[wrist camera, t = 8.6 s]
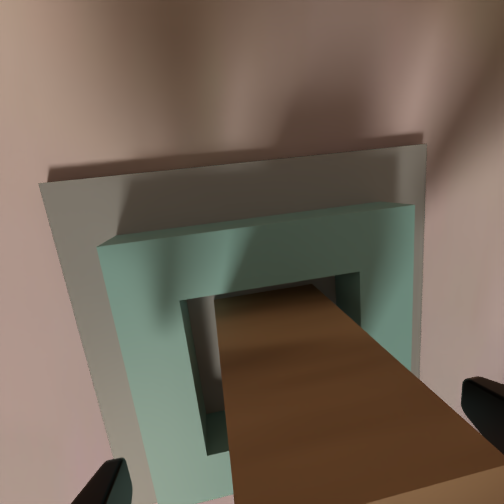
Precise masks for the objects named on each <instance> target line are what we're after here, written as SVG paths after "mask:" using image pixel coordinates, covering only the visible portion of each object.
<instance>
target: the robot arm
mask: <svg viewBox="0 0 504 504" xmlns="http://www.w3.org/2000/svg"><path fill="white" fill-rule="evenodd" d="M461 406H462V409H463V411H464V413H465V414H466V416H467V417H468V418H469V419H470V421H471V422H472V423H473V424H474V426H475V427H476V428H477V429H478V431H479V432H480V433H481V435H482V436H483V437H484V438H485V439H487V440H488V441H489V442H490V443H491V444H492V445H493V446H494V447H496V448H497V449H498V450H499V451H500V452H501V453H502V454H503V455H504V384H501V383H498V382H495V381H492V380H489V379H486V378H483V377H479V376H478V377H472V378H468V379H465V380H464V381H463V384H462V397H461ZM132 494H133V487H132V481H131V477H130V474H129V470H128V466H127V462H126V460H125V458H123V457H120V458H116V459H112V460H108V461H106V462H105V463H104V464H103V465H102V466H101V467H100V468H99V470H98V471H97V472H96V473H95V474H94V476H93V477H92V478H91V479H90V481H89V482H88V483H87V484H86V486H85V487H84V488H83V489H82V491H81V492H80V493H79V494H78V495H77V497H76V498H75V499H74V500H73V502H72V503H71V504H131V503H132Z"/></svg>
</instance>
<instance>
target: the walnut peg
mask: <svg viewBox="0 0 504 504" xmlns="http://www.w3.org/2000/svg"><path fill="white" fill-rule="evenodd" d="M214 308H215V318H216V328H217V337H218V347H219V357H220V367H221V376H222V386H223V396H224V406H225V415H226V425H227V435H228V445H229V454H230V464H231V474H232V484H233V493H234V503H235V504H504V455H503V454H502V453H501V452H500V451H499V450H498V449H497V448H496V447H494V446H493V445H492V444H491V443H490V442H489V441H488V440H487V439H485V438H484V437H483V436H482V435H481V434H480V433H479V432H478V431H476V430H475V429H474V428H473V427H472V426H471V425H470V424H469V423H467V422H466V421H465V420H464V419H463V418H462V417H461V416H460V415H459V414H457V413H456V412H455V411H454V410H453V409H452V408H451V407H450V406H448V405H447V404H446V403H445V402H444V401H443V400H442V399H441V398H439V397H438V396H437V395H436V394H435V393H434V392H433V391H432V390H431V389H429V388H428V387H427V386H426V385H425V384H424V383H423V382H422V381H420V380H419V379H418V378H417V377H416V376H415V375H414V374H413V373H411V372H410V371H409V370H408V369H407V368H406V367H405V366H404V365H402V364H401V363H400V362H399V361H398V360H397V359H396V358H395V357H394V356H392V355H391V354H390V353H389V352H388V351H387V350H386V349H385V348H383V347H382V346H381V345H380V344H379V343H378V342H377V341H376V340H374V339H373V338H372V337H371V336H370V335H369V334H368V333H367V332H366V331H364V330H363V329H362V328H361V327H360V326H359V325H358V324H357V323H355V322H354V321H353V320H352V319H351V318H350V317H349V316H348V315H346V314H345V313H344V312H343V311H342V310H341V309H340V308H339V307H337V306H336V305H335V304H334V303H333V302H332V301H331V300H330V299H329V298H327V297H326V296H325V295H324V294H323V293H322V292H321V291H320V290H318V289H317V288H316V287H315V286H314V285H313V284H308V285H302V286H296V287H290V288H284V289H277V290H271V291H265V292H259V293H253V294H247V295H240V296H234V297H228V298H222V299H216V300H214Z"/></svg>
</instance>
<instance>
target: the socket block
mask: <svg viewBox="0 0 504 504" xmlns="http://www.w3.org/2000/svg"><path fill="white" fill-rule="evenodd" d="M426 159H427V144H419V145H409V146H399V147H390V148H380V149H370V150H360V151H350V152H341V153H331V154H321V155H311V156H302V157H292V158H282V159H272V160H262V161H253V162H243V163H233V164H223V165H213V166H204V167H194V168H184V169H174V170H165V171H155V172H145V173H135V174H125V175H116V176H106V177H96V178H86V179H77V180H67V181H57V182H47V183H38V184H39V188H40V191H41V195H42V198H43V202H44V206H45V209H46V213H47V217H48V220H49V224H50V228H51V231H52V235H53V239H54V242H55V246H56V250H57V253H58V257H59V261H60V264H61V268H62V272H63V275H64V279H65V283H66V286H67V290H68V294H69V297H70V301H71V305H72V308H73V312H74V316H75V319H76V323H77V327H78V330H79V334H80V338H81V341H82V345H83V349H84V352H85V356H86V359H87V363H88V367H89V370H90V374H91V378H92V381H93V385H94V389H95V392H96V396H97V400H98V403H99V407H100V411H101V414H102V418H103V422H104V425H105V429H106V433H107V436H108V440H109V444H110V447H111V451H112V455H113V458H114V459H116V458H120V457H123V458H125V460H126V462H127V466H128V470H129V474H130V477H131V481H132V487H133V494H132V503H131V504H155V503H158V504H197V503H201V502H205V501H209V500H213V499H216V498H220V497H224V496H228V495H232V494H234V493H233V484H232V474H231V464H230V454H229V445H228V435H227V425H226V415H225V406H224V396H223V386H222V376H221V367H220V357H219V347H218V337H217V328H216V318H215V308H214V300H216V299H222V298H228V297H234V296H240V295H247V294H253V293H259V292H265V291H271V290H277V289H284V288H290V287H296V286H302V285H308V284H313V285H314V286H315V287H316V288H317V289H318V290H320V291H321V292H322V293H323V294H324V295H325V296H326V297H327V298H329V299H330V300H331V301H332V302H333V303H334V304H335V305H336V306H337V307H339V308H340V309H341V310H342V311H343V312H344V313H345V314H346V315H348V316H349V317H350V318H351V319H352V320H353V321H354V322H355V323H357V324H358V325H359V326H360V327H361V328H362V329H363V330H364V331H366V332H367V333H368V334H369V335H370V336H371V337H372V338H373V339H374V340H376V341H377V342H378V343H379V344H380V345H381V346H382V347H383V348H385V349H386V350H387V351H388V352H389V353H390V354H391V355H392V356H394V357H395V358H396V359H397V360H398V361H399V362H400V363H401V364H402V365H404V366H405V367H406V368H407V369H408V370H409V371H410V372H411V373H413V374H414V375H415V376H416V377H417V378H418V379H419V377H420V346H421V314H422V283H423V252H424V221H425V190H426Z"/></svg>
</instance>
